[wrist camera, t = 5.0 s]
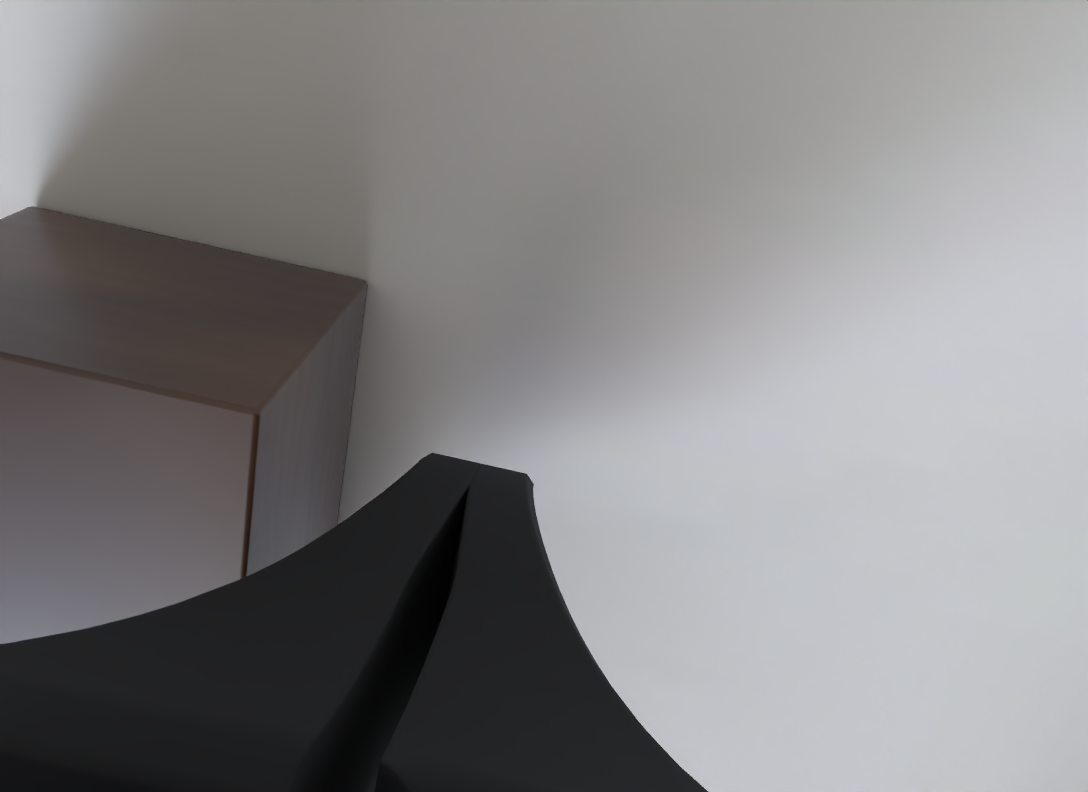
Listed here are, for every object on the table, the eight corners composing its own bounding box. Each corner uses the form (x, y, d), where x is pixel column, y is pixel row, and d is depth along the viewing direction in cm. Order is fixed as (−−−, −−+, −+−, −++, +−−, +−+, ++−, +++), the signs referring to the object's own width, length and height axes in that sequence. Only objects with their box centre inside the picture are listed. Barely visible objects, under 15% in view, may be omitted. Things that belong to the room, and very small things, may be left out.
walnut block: (368, 279, 13) (258, 412, 10) (328, 591, 15) (226, 796, 12) (29, 205, 13) (-208, 307, 10) (37, 525, 15) (-156, 709, 12)
